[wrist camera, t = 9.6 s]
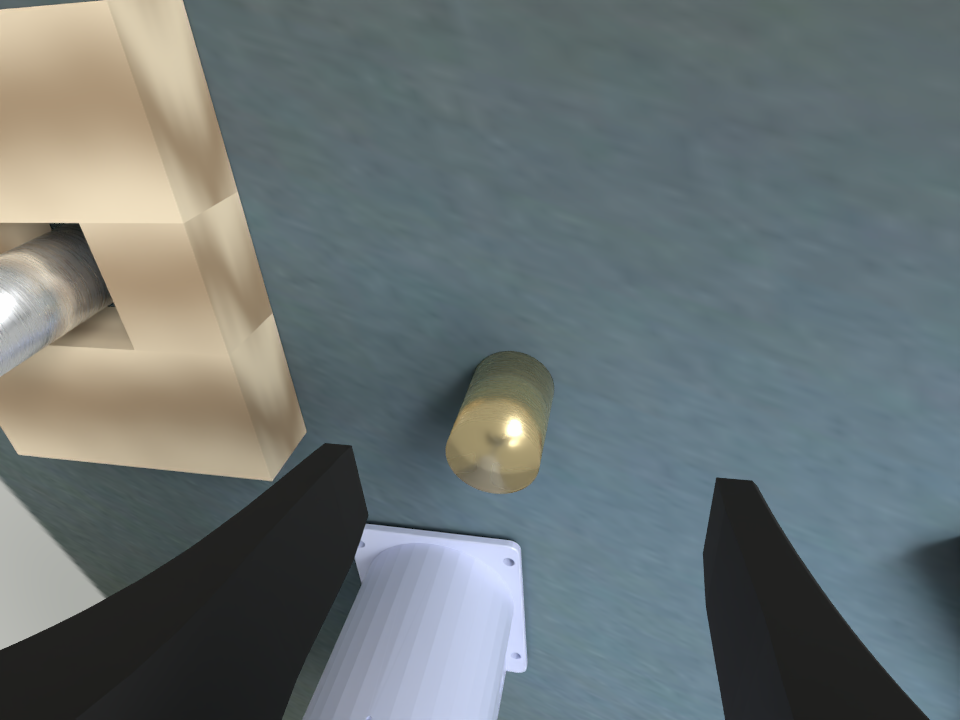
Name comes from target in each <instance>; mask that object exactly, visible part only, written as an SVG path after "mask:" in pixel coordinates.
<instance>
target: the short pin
mask: <svg viewBox="0 0 960 720" xmlns="http://www.w3.org/2000/svg"><path fill="white" fill-rule="evenodd" d="M553 395H554V383H553V379H552V377H551V375H550V373H549V371H548V370H547V369H546V367H545V366H544V365H543V364H542V363H540V362H539V361H538V360H536V359H535V358H533V357H531V356H529V355H527V354H524V353H520V352H514V351H504V352H498V353H495V354H492V355H490V356H488V357H486V358H485V359H484V360H483V361H482V362H481V363H480V364H479V365H478V366H477V368H476V370H475V373H474V375H473V378H472V380H471V383H470V385H469V388H468V390H467V393H466V395H465V398H464V401H463V403H462V406H461V408H460V411H459V413H458V416H457V418H456V421H455V423H454V426H453V428H452V431H451V434H450V436H449V439H448V441H447V444H446V457H447V461H448V463H449V465H450V467H451V469H452V470H453V472H454V473H455V474H456V475H457V476H458V477H459V478H460V479H461V480H462V481H464V482H465V483H466V484H468V485H470V486H472V487H474V488H476V489H478V490H481V491H484V492H488V493H495V494H507V493H513V492H516V491H519V490H522V489H524V488H525V487H527V486H528V485H530V484H531V483H532V482H533V481H534V479H535V478H536V476H537V474H538V471H539V467H540V461H541V456H542V451H543V446H544V441H545V436H546V431H547V425H548V420H549V415H550V410H551V405H552V400H553Z"/></svg>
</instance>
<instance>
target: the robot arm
mask: <svg viewBox="0 0 960 720" xmlns="http://www.w3.org/2000/svg"><path fill="white" fill-rule="evenodd" d="M367 518H368V511H367V507H366V503H365V499H364V495H363V491H362V487H361V482H360V478H359V474H358V470H357V466H356V462H355V458H354V453H353V449H352V446H350V445H339V444H327V443H325V444H323V445H322V446H321V447H319V448H318V449H317V450H316V451H314V452H313V453H312V454H311V455H309V456H308V457H307V458H306V459H304V460H303V461H302V462H301V463H299V464H298V465H297V466H296V467H295V468H293V469H292V470H291V471H290V472H289V473H287V474H286V475H285V476H284V477H282V478H281V479H280V480H279V481H278V482H276V483H275V484H274V485H273V486H271V487H270V488H269V489H268V490H266V491H265V492H264V493H263V494H261V495H260V496H259V497H258V498H256V499H255V500H254V501H253V502H251V503H250V504H249V505H248V506H246V507H245V508H244V509H243V510H241V511H240V512H239V513H237V514H236V515H235V516H233V517H232V518H230V519H229V520H228V521H226V522H225V523H224V524H222V525H221V526H220V527H218V528H217V529H216V530H214V531H213V532H211V533H210V534H209V535H207V536H206V537H205V538H203V539H202V540H201V541H199V542H198V543H196V544H195V545H193V546H192V547H191V548H189V549H188V550H186V551H185V552H183V553H182V554H180V555H179V556H177V557H176V558H174V559H172V560H171V561H169V562H168V563H166V564H164V565H163V566H161V567H160V568H158V569H157V570H155V571H153V572H152V573H150V574H149V575H147V576H145V577H144V578H142V579H140V580H139V581H137V582H135V583H133V584H131V585H130V586H128V587H126V588H124V589H122V590H121V591H119V592H117V593H115V594H113V595H112V596H110V597H108V598H106V599H104V600H103V601H101V602H99V603H97V604H95V605H94V606H92V607H90V608H88V609H86V610H84V611H82V612H81V613H79V614H76V615H74V616H72V617H70V618H69V619H66V620H64V621H62V622H60V623H58V624H56V625H54V626H52V627H50V628H48V629H46V630H44V631H42V632H39V633H37V634H35V635H33V636H31V637H29V638H27V639H24V640H22V641H20V642H18V643H16V644H13V645H11V646H9V647H7V648H4V649H2V650H0V720H282V717H283V715H284V712H285V709H286V707H287V704H288V701H289V698H290V696H291V693H292V690H293V688H294V685H295V682H296V680H297V678H298V675H299V673H300V671H301V669H302V666H303V664H304V662H305V659H306V657H307V655H308V653H309V651H310V649H311V647H312V645H313V643H314V641H315V639H316V637H317V635H318V633H319V631H320V629H321V627H322V624H323V622H324V620H325V618H326V616H327V614H328V612H329V610H330V608H331V606H332V604H333V602H334V600H335V598H336V596H337V594H338V592H339V590H340V588H341V585H342V583H343V581H344V579H345V577H346V575H347V573H348V571H349V569H350V567H351V564H352V562H353V560H354V558H355V561H356V565H357V569H358V572H359V576H360V580H361V583H362V585H361V587H360V589H359V592H358V594H357V596H356V599H355V601H354V603H353V605H352V608H351V610H350V612H349V614H348V617H347V619H346V621H345V624H344V626H343V628H342V630H341V633H340V635H339V637H338V639H337V642H336V644H335V646H334V649H333V651H332V653H331V655H330V658H329V660H328V662H327V664H326V667H325V669H324V671H323V674H322V676H321V678H320V680H319V683H318V685H317V687H316V689H315V692H314V694H313V696H312V699H311V701H310V703H309V705H308V708H307V710H306V712H305V714H304V717H303V719H302V720H497V717H498V712H499V707H500V701H501V696H502V690H503V685H504V680H505V674H506V671H511V672H517V673H521V672H524V671H525V670H526V668H527V648H526V630H525V612H524V595H523V577H522V560H521V548H520V546H519V545H518V544H517V543H515V542H514V541H510V540H503V539H494V538H486V537H477V536H469V535H460V534H451V533H443V532H434V531H426V530H417V529H408V528H400V527H391V526H383V525H374V524H366V521H367ZM509 558H510V559H509ZM703 563H704V583H705V599H706V610H707V616H708V622H709V628H710V634H711V640H712V646H713V652H714V657H715V663H716V669H717V675H718V681H719V686H720V692H721V698H722V704H723V710H724V715H725V720H930V719H929V718H928V717H927V716H926V715H925V714H924V713H923V712H922V711H921V710H920V708H919V707H918V706H917V705H916V704H915V703H914V702H913V701H912V700H911V699H910V698H909V697H908V695H907V694H906V693H905V692H904V691H903V690H902V689H901V688H900V687H899V685H898V684H897V683H896V682H895V681H894V680H893V678H892V677H891V676H890V675H889V674H888V673H887V672H886V670H885V669H884V668H883V667H882V666H881V665H880V663H879V662H878V661H877V660H876V659H875V657H874V656H873V655H872V654H871V653H870V651H869V650H868V649H867V648H866V647H865V645H864V644H863V643H862V642H861V640H860V639H859V638H858V637H857V635H856V634H855V633H854V632H853V630H852V629H851V628H850V626H849V625H848V624H847V622H846V621H845V620H844V618H843V617H842V616H841V615H840V613H839V612H838V611H837V609H836V608H835V607H834V605H833V604H832V603H831V601H830V600H829V598H828V597H827V596H826V594H825V593H824V592H823V590H822V589H821V587H820V586H819V584H818V583H817V582H816V580H815V579H814V577H813V576H812V574H811V573H810V571H809V570H808V568H807V567H806V566H805V564H804V563H803V561H802V560H801V558H800V557H799V555H798V554H797V552H796V551H795V549H794V548H793V546H792V544H791V543H790V541H789V540H788V538H787V537H786V535H785V533H784V532H783V530H782V528H781V527H780V525H779V524H778V522H777V520H776V519H775V517H774V515H773V514H772V512H771V510H770V508H769V507H768V505H767V503H766V501H765V499H764V498H763V496H762V494H761V492H760V490H759V488H758V487H757V485H756V484H755V483H754V482H753V481H750V480H738V479H727V478H716V483H715V488H714V494H713V500H712V505H711V511H710V517H709V522H708V528H707V534H706V539H705V545H704V551H703Z"/></svg>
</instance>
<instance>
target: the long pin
mask: <svg viewBox="0 0 960 720" xmlns="http://www.w3.org/2000/svg"><path fill="white" fill-rule="evenodd" d="M111 303H113V300H112V297H111V295H110V293H109V290H108V288H107V286H106V284H105V281H104V279H103V277H102V275H101V272H100V270H99V268H98V265H97V263H96V261H95V259H94V256H93V254H92V252H91V249H90V247H89V245H88V243H87V240H86V238H85V236H84V233H83V231H82V229H81V227H80V224H79V223H66V224H64V225H62V226H60V227H58V228H56V229H53V230H51V231H49V232H47V233H45V234H43V235H41V236H38V237H36V238H34V239H32V240H30V241H28V242H26V243H24V244H21V245H19V246H17V247H15V248H13V249H11V250H9V251H7V252H4V253H2V254H0V377H1V376H2V375H4V374H5V373H7V372H8V371H10V370H11V369H13V368H15V367H16V366H18V365H19V364H21V363H22V362H24V361H25V360H27V359H28V358H30V357H31V356H33V355H34V354H36V353H37V352H39V351H40V350H42V349H43V348H45V347H46V346H48V345H49V344H51V343H52V342H54V341H55V340H57V339H58V338H60V337H61V336H63V335H64V334H66V333H67V332H69V331H70V330H72V329H73V328H75V327H76V326H78V325H79V324H81V323H83V322H84V321H86V320H87V319H89V318H90V317H92V316H93V315H95V314H96V313H98V312H99V311H101V310H102V309H104V308H105V307H107V306H108V305H110V304H111Z"/></svg>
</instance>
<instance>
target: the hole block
mask: <svg viewBox="0 0 960 720" xmlns="http://www.w3.org/2000/svg"><path fill="white" fill-rule="evenodd" d="M49 223H79V224H80V227H81V229H82V231H83V233H84V236H85V238H86V240H87V243H88V245H89V247H90V249H91V252H92V254H93V256H94V259H95V261H96V263H97V265H98V268H99V270H100V272H101V275H102V277H103V279H104V281H105V284H106V286H107V288H108V290H109V293H110V295H111V297H112V300H113V302H114V304H115V306H116V307H105V308H104V309H102V310H101V311H99V312H98V313H96V314H95V315H93V316H92V317H90V318H89V319H87V320H86V321H84V322H83V323H81V324H79V325H78V326H76V327H75V328H73V329H72V330H70V331H69V332H67V333H66V334H64V335H63V336H61V337H60V338H58V339H57V340H55V341H54V342H52V343H51V344H49V345H48V346H46V347H45V348H43V349H42V350H40V351H39V352H37V353H36V354H34V355H33V356H31V357H30V358H28V359H27V360H25V361H24V362H22V363H21V364H19V365H18V366H16V367H15V368H13V369H11V370H10V371H8V372H7V373H5V374H4V375H2V376H1V377H0V426H1V427H2V429H3V431H4V432H5V434H6V435H7V437H8V439H9V440H10V442H11V444H12V445H13V447H14V448H15V450H16V452H17V453H18V455H26V456H36V457H45V458H55V459H65V460H74V461H84V462H93V463H103V464H113V465H122V466H132V467H141V468H151V469H161V470H170V471H180V472H189V473H199V474H209V475H218V476H228V477H237V478H247V479H257V480H266V481H273V480H274V478H275V477H276V475H277V474H278V472H279V471H280V469H281V468H282V467H283V465H284V464H285V462H286V461H287V459H288V458H289V457H290V455H291V454H292V452H293V451H294V449H295V448H296V447H297V445H298V444H299V442H300V441H301V439H302V438H303V436H304V435H305V434H306V432H307V431H306V427H305V424H304V421H303V417H302V414H301V410H300V407H299V403H298V400H297V396H296V393H295V389H294V386H293V382H292V379H291V375H290V372H289V368H288V365H287V361H286V358H285V354H284V351H283V347H282V344H281V341H280V337H279V334H278V330H277V327H276V323H275V320H274V316H273V313H272V309H271V306H270V302H269V299H268V295H267V292H266V288H265V285H264V281H263V278H262V274H261V271H260V267H259V264H258V261H257V257H256V254H255V250H254V247H253V243H252V240H251V236H250V233H249V229H248V226H247V222H246V219H245V215H244V212H243V208H242V205H241V201H240V198H239V194H238V191H237V187H236V184H235V181H234V177H233V174H232V170H231V167H230V163H229V160H228V156H227V153H226V149H225V146H224V142H223V139H222V135H221V132H220V128H219V125H218V121H217V118H216V114H215V111H214V107H213V104H212V101H211V97H210V94H209V90H208V87H207V83H206V80H205V76H204V73H203V69H202V66H201V62H200V59H199V55H198V52H197V48H196V45H195V41H194V38H193V34H192V31H191V27H190V24H189V21H188V17H187V14H186V10H185V7H184V3H183V0H103V1H92V2H81V3H70V4H59V5H47V6H36V7H25V8H14V9H3V10H0V254H2V253H4V252H7V251H9V250H11V249H13V248H15V247H17V246H19V245H21V244H24V243H26V242H28V241H30V240H32V239H34V238H36V237H38V236H41V235H43V234H45V233H47V232H49V231H51V230H52V229H51V227H50V225H49Z"/></svg>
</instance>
